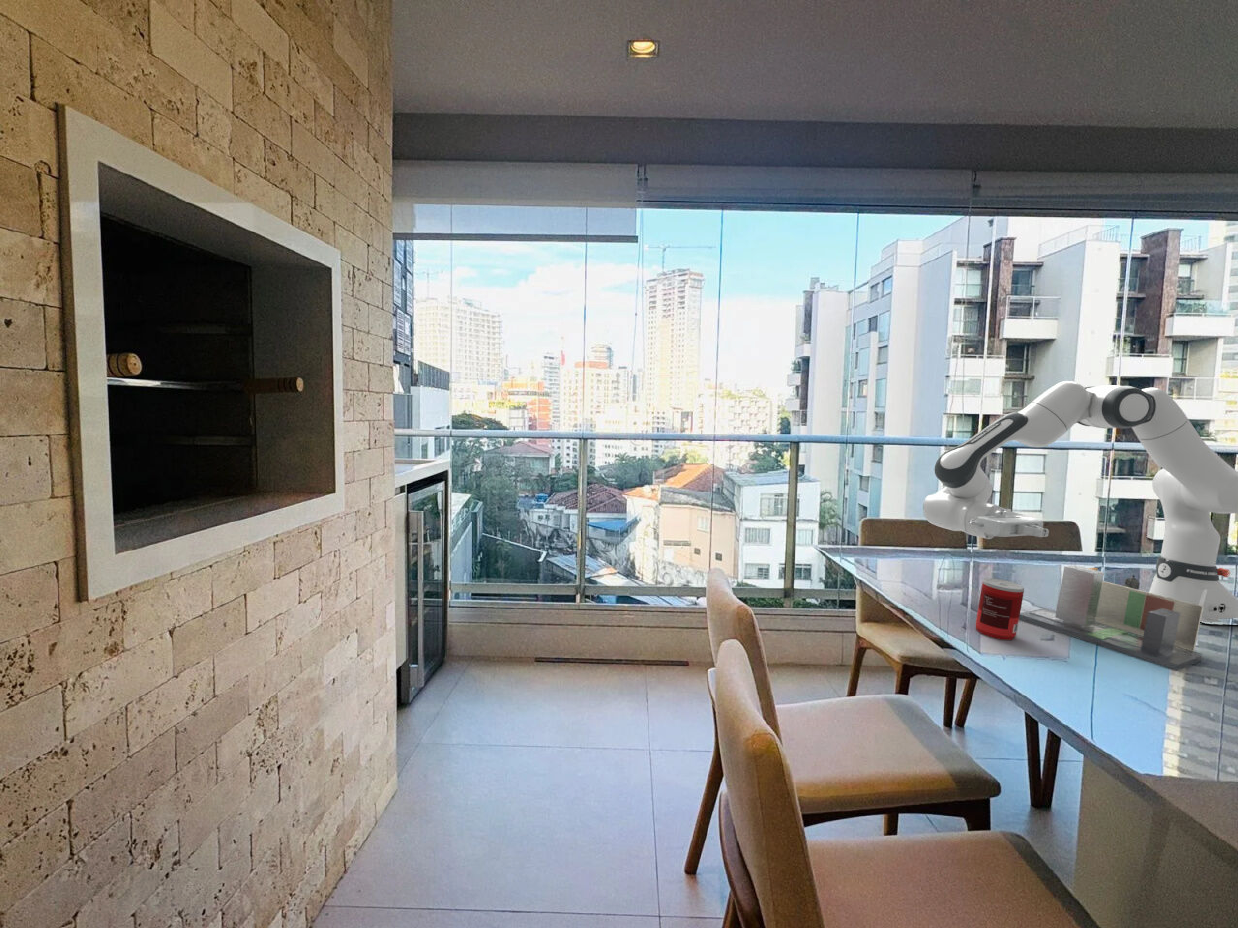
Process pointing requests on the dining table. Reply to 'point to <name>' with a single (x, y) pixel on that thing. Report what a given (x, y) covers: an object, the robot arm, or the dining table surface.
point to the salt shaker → (1132, 583)
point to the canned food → (999, 608)
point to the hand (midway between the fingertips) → (1045, 533)
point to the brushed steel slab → (1079, 595)
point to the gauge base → (1135, 625)
